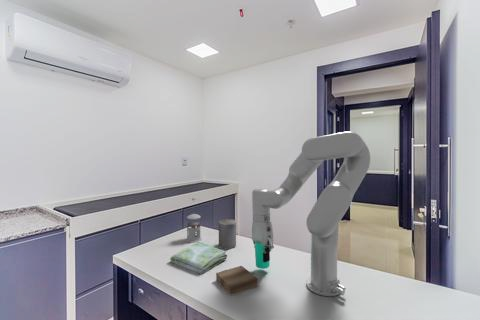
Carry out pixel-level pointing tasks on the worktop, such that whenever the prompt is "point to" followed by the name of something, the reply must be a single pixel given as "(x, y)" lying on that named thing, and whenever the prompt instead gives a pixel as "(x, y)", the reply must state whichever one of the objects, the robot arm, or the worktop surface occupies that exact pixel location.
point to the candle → (260, 256)
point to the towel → (199, 257)
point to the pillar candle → (227, 233)
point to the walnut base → (236, 280)
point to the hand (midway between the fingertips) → (262, 258)
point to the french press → (193, 229)
